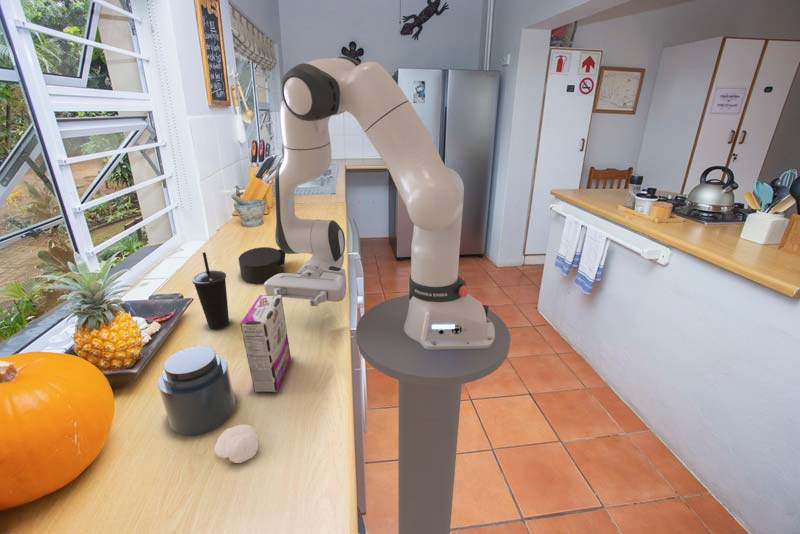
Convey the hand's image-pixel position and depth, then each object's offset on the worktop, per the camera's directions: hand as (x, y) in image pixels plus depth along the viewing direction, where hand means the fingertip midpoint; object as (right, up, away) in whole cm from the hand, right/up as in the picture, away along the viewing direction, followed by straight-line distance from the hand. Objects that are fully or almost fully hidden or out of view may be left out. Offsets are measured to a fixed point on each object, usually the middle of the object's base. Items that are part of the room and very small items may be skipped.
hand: (293, 302), depth 90 cm
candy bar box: (-2, -15, -9) cm, 17 cm away
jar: (-12, -19, -19) cm, 29 cm away
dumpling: (-2, -23, -27) cm, 35 cm away
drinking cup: (-22, -7, +10) cm, 25 cm away
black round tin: (-21, +6, +41) cm, 46 cm away
